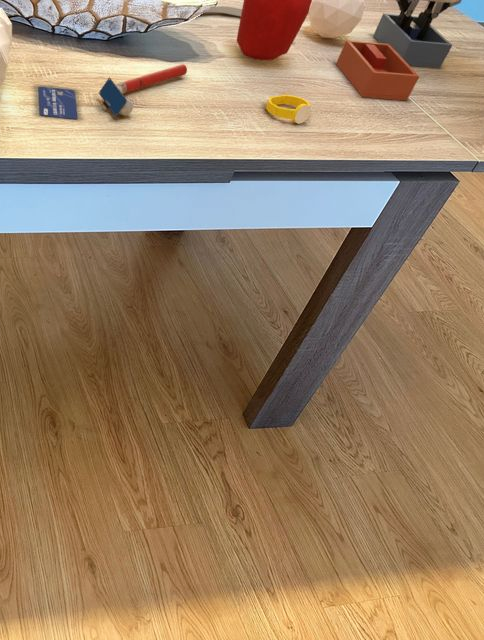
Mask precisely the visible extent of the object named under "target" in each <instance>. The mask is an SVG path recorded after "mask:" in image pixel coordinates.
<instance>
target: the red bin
mask: <svg viewBox="0 0 484 640" xmlns="http://www.w3.org/2000/svg"><path fill="white" fill-rule="evenodd" d="M365 44H371V45H375V46H376V47H377V48H378V50H379V51H380V52H381V53H382V54H383V55H384V56H385V58H386V61H385V63H384V65H383V67H382V70H385V71H387V72H379V71H375V70H374V68H373V67H372V66H371V65H370V64H369V63H368V61H367V60H366V59H365V58H364V57H363V56H362V54H361V53H362V51H363V48H364V46H365ZM335 64H336V66H337V67H338V68H339V70H340V71H341V72H342V74H344V76H345V77H346V78H347V80H348V81H349V82H350V83H351V85H352V86H353V87H354V89H355V90H356V91H357V92H358V94H359V95H360V96H361V97H362V98H369V99H381V100H394V101H408V99H409V98H410V96H411V94H412V92H413V90H414V88H415V86H416V85H417V83H418V80H419V78H420V75H419V74H418V73H417V72H416V71H415V70H414V69H413V68H412V67H411V65H408V64H407V62H406V61H405V60H404V59H403V58H402V57H401V56H400V55H399V54H398V53H397V52H396V51H395V50H394V49H393V47H392V46H391V45H390V44H385V43H379V42H374V41H373V42H371V41H362V40H352V39H351V40H350V39H346V40H345V41H344V44H343V46H342V49H341V51H340V53H339V55H338V58H337V60H336V62H335Z"/></svg>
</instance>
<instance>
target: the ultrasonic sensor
mask: <svg viewBox="0 0 484 640" xmlns="http://www.w3.org/2000/svg"><path fill="white" fill-rule="evenodd" d="M98 95H99V96H100V97H101V99H102V100H103V102H102V105H101V107H102V109H103V110H104V111H106V110H108V109H109V110H110V111H111V112H112V114H113V115H114V116H115V118H117V117H118V116H119V115H122V116H124V117H128V116H129V115H131V113H132V111H133V110H134V102H133V100H131V99H129V98H126V97H125V95H124V94H122V88H121V87H120V86H118V85H116V83H115V82H114V81H113V80H112V78H111V77H110V76H109V77H108V78H107V80H106V81H105V83H104V84H103V86H102V87H101V89H100V90H99V92H98Z"/></svg>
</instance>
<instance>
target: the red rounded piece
mask: <svg viewBox="0 0 484 640" xmlns="http://www.w3.org/2000/svg"><path fill="white" fill-rule="evenodd" d="M312 1H313V0H243V4H242V7H241V9H242V13H241V16H240V19H239V25H238V29H237V30H238V31H237V35H236V42H237V44H238V47H239V49H240V51H241V53H242V55H244V56H245V57H247V58H249V59H252V60H257V61H272V60H275V59H278V58H279V57H281V56H284V55H286V54H288V52H289V50H290V48H291V47H292V45H293V43H294V41H295V39H296V37H297V36H298V34H299V32H300V30H301V28H302V26H303V24H304V22H305V20H306V19H307V16H309V15H308V12H309V9H310V7H311V4H312Z"/></svg>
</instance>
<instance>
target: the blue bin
mask: <svg viewBox="0 0 484 640" xmlns="http://www.w3.org/2000/svg"><path fill="white" fill-rule="evenodd" d="M411 16H412V17H413V20H412V21H413V22H414V23H415V22H416V20H417V18H418V16H415V15H411ZM398 17H399V14H397V13H396V14H395V13H382V16H381V17H380V20H379V22H378V24H377V26H376V28H375V31H374V32H373V35H372V36H373V38H374V39H376V41H377V43H385V44H390V45H391V46H392V47H393V49H394V50H395V51H396V52H397V53H398V54H399V55H400V56H401V57H402V58H403V59H404V60H405V61H406V62H407V64H408V65H409V66H410V67H411V66H412V67H421V68H422V67H423V68H436V69H440V68H441V67H442V66H443V64H444V62H445V60H446V58H447V57H448V55H449V53H450V51H451V49H452V47H453V44H452V43H451V42H450V41H449V40H447V38H446V37H444V36H443V35H442V34H441V32H440V31H438V30H437V29H436V28H435V27H434V26H433V25H432V24H430V26H429V28H428V30H427V32H426V34H425V35H424V36H423V38H422V40H421V41H415V40H412V39H411V38H410V37H409V36H408V35H407V34H406V33H405V32H404V31H403V30H402V29H401V28H400V27H399V26H398V25H397V24H396V21H397V19H398Z"/></svg>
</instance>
